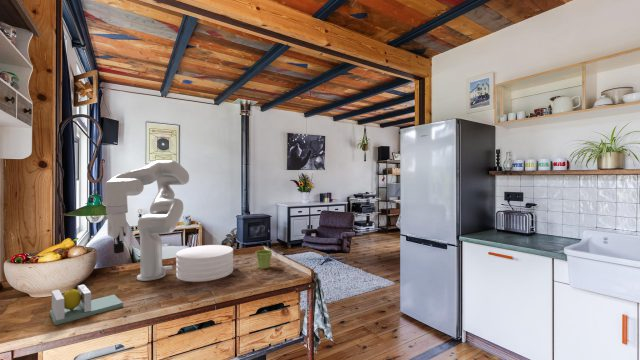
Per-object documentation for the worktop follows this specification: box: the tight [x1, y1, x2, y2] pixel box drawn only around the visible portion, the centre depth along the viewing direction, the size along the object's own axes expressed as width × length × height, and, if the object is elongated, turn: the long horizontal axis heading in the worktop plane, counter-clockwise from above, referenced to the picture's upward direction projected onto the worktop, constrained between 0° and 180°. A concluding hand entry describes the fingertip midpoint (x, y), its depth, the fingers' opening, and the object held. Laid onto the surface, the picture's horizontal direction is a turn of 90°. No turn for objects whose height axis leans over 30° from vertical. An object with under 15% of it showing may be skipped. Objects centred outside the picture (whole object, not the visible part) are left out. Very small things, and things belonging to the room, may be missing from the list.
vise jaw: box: [77, 284, 92, 312], centre depth 113 cm, size 2×12×7 cm, turn 48°
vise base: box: [49, 289, 124, 326], centre depth 114 cm, size 20×12×8 cm, turn 138°
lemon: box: [62, 288, 81, 310], centre depth 110 cm, size 6×6×8 cm
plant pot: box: [254, 249, 273, 270], centre depth 167 cm, size 9×9×9 cm
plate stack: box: [175, 244, 234, 282], centre depth 159 cm, size 28×28×12 cm
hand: (118, 252), depth 127 cm, fingers closed
